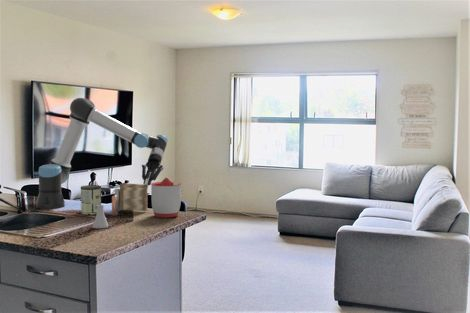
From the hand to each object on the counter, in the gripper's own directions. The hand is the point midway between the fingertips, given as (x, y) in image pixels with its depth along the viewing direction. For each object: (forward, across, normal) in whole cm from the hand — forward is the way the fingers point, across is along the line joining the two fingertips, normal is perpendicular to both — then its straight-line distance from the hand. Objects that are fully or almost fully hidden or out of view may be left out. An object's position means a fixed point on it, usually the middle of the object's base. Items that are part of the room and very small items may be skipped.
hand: (145, 189), depth 255 cm
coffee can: (+20, +23, +5) cm, 31 cm away
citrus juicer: (+18, -18, +2) cm, 26 cm away
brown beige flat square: (+13, +3, -1) cm, 14 cm away
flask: (+41, +2, +26) cm, 49 cm away
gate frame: (+18, +10, +3) cm, 21 cm away
